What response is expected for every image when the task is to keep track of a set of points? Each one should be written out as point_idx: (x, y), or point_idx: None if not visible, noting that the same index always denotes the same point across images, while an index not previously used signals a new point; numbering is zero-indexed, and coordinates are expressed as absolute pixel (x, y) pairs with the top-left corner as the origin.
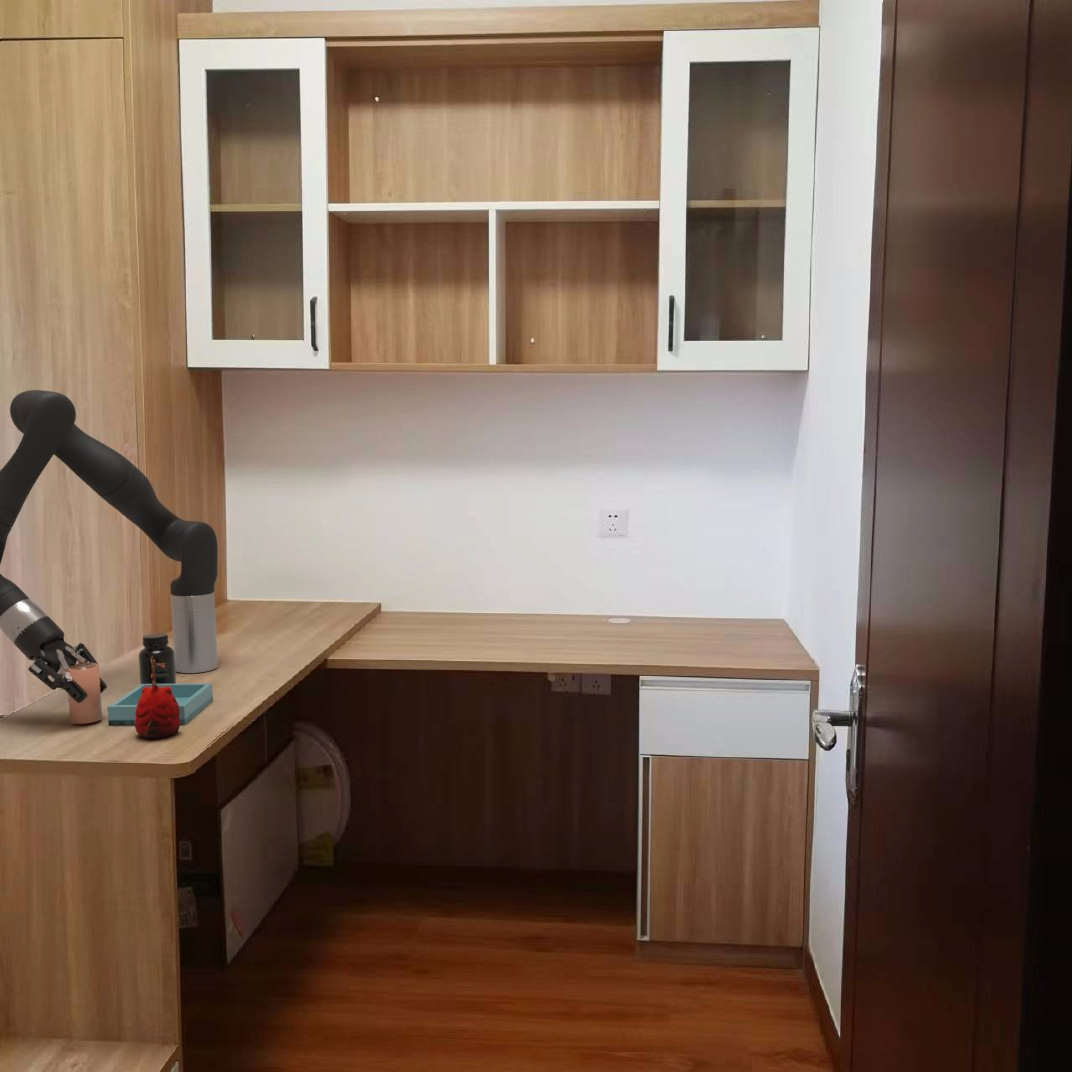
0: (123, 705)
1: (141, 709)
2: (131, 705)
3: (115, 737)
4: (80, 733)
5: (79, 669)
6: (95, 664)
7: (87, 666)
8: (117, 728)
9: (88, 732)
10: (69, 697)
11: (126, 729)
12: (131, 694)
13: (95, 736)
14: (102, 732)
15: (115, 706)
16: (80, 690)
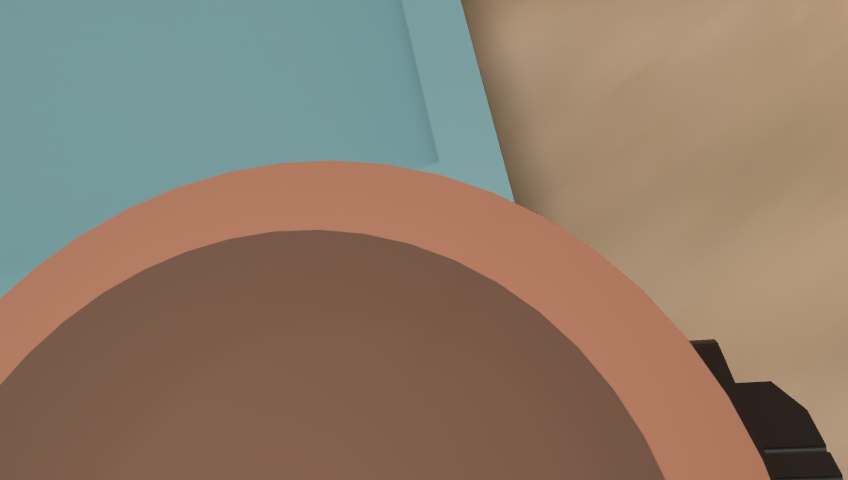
0: (433, 74)
1: None
2: (416, 5)
3: (804, 7)
4: (816, 373)
5: (661, 465)
6: (49, 341)
7: (288, 429)
8: (580, 147)
9: (761, 317)
10: None
11: (585, 62)
12: (14, 275)
13: (843, 176)
14: (719, 193)
15: (484, 127)
16: (743, 404)
